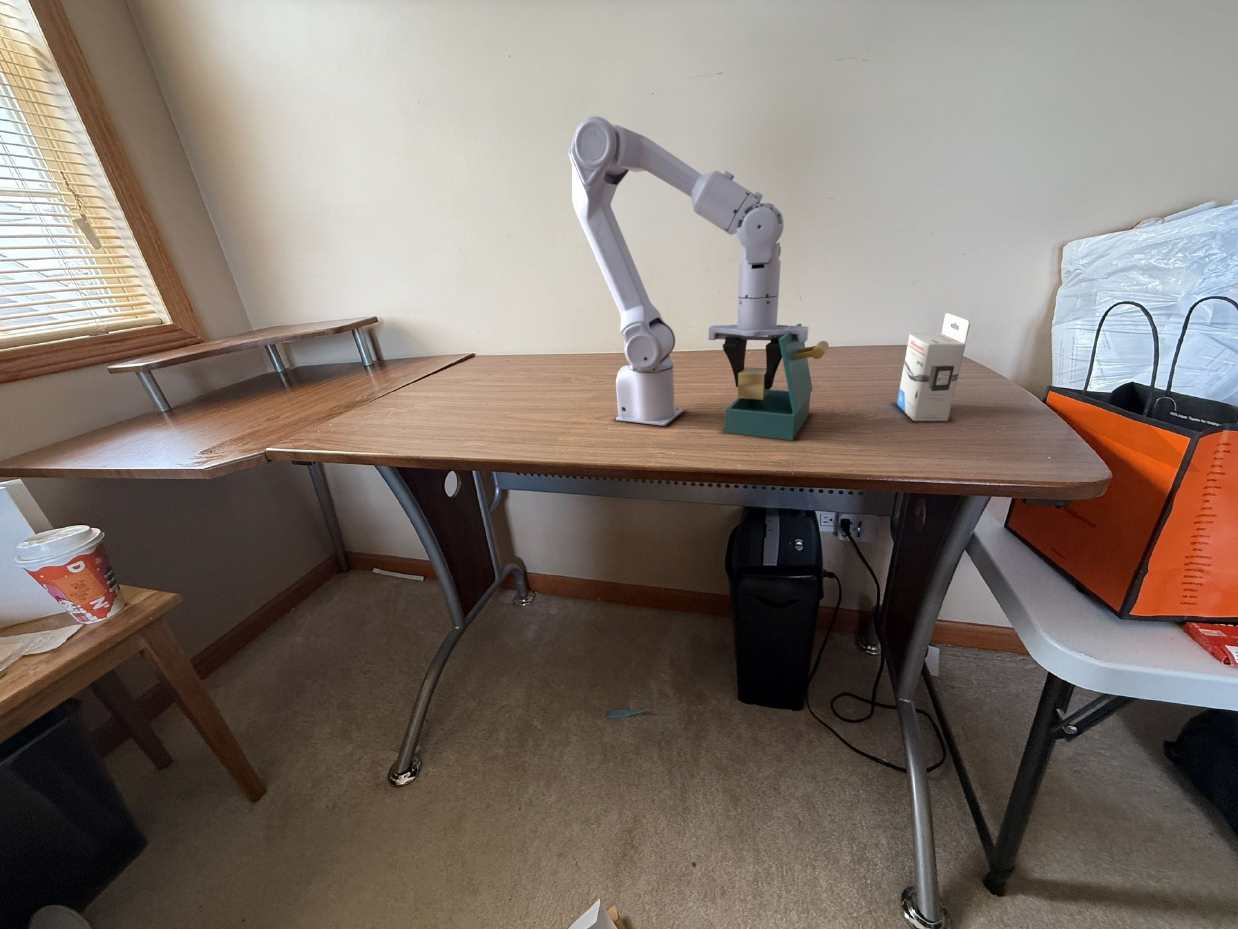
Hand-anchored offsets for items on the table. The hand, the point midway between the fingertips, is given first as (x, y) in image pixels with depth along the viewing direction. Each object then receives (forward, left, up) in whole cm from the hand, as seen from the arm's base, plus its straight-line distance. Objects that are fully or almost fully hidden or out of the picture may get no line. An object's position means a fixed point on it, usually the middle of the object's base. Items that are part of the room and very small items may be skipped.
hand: (753, 386), depth 76 cm
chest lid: (+6, 0, +3) cm, 7 cm away
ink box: (+24, +12, -6) cm, 27 cm away
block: (0, 0, -1) cm, 1 cm away
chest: (+3, 0, -6) cm, 6 cm away
